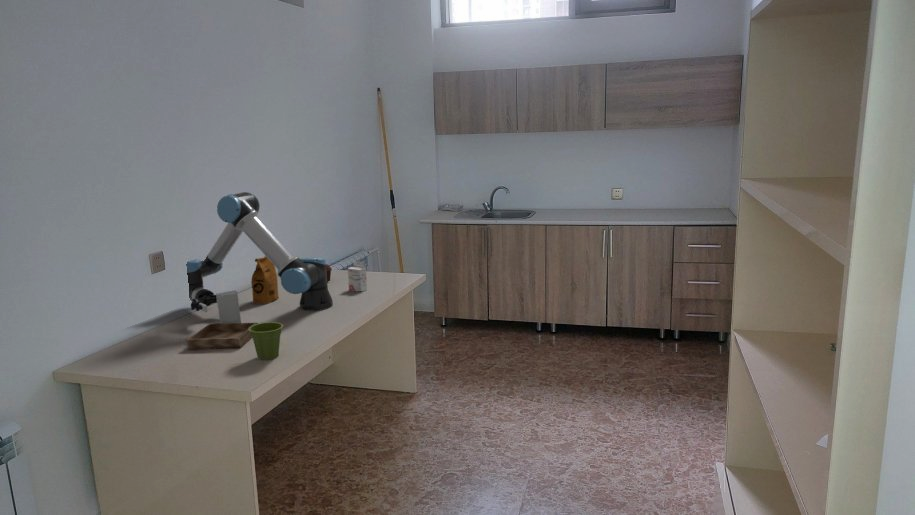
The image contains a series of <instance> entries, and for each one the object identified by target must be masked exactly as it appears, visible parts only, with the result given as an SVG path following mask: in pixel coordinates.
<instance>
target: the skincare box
mask: <svg viewBox="0 0 915 515" xmlns="http://www.w3.org/2000/svg"><path fill="white" fill-rule="evenodd" d="M215 295H216V298H217V303H216V304H217V309H218V318H219V323H242V319H241V312H240V304H239V303H238V302H239V296H238V293H237V291H236V290H230V291H224V292H217V293H215Z"/></svg>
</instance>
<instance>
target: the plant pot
mask: <svg viewBox="0 0 915 515" xmlns="http://www.w3.org/2000/svg"><path fill="white" fill-rule="evenodd" d="M283 327H284V325H283V323H280V322H276V321H272V322H271V321H270V322H269V321H268V322H267V321H266V322H262V323H258V324H256V325H253V326H251V327H249V329H248V330H249V331H250V332H251V335H252V337H253V338H252V341H253V345H254V348H255V352H256V355H257V356H256V357H257V358H258V359H259V360H267V361H269V360H273V359H276V358H277V357H278V356H279V355H280V354H279V353H280V345H281V344H280V342H281V335H282V328H283Z"/></svg>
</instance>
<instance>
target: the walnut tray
mask: <svg viewBox="0 0 915 515" xmlns="http://www.w3.org/2000/svg"><path fill="white" fill-rule="evenodd" d="M256 324H259V322H241V323H220V322H219V323H217V322H216V323H208V324H207V325H205V326H204V327H203V328H202V329H200V330H199V331H197V332H196V333H194V334H193V335H191V336H190V337H189V338H187V339H186V345H187V350H189V351H194V350H195V351H196V350H240V349H242V348H243V347H244V346H245V345H246V344H248V343H249V342H250V341H251V340H253V337H252V335H251V332H250V331H249V330H248V329H249V327H251V326H253V325H256Z"/></svg>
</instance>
